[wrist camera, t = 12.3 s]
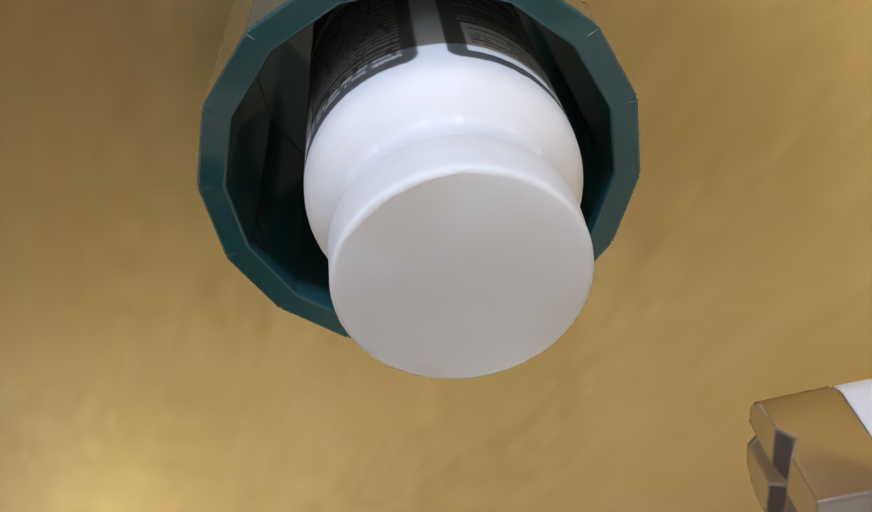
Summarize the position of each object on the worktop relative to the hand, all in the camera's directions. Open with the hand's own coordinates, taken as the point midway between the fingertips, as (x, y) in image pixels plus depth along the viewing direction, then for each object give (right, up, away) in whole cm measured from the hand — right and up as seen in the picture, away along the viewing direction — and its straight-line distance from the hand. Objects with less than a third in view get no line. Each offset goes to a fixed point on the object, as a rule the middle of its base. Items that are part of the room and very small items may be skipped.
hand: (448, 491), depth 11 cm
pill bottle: (-1, +9, +12) cm, 14 cm away
